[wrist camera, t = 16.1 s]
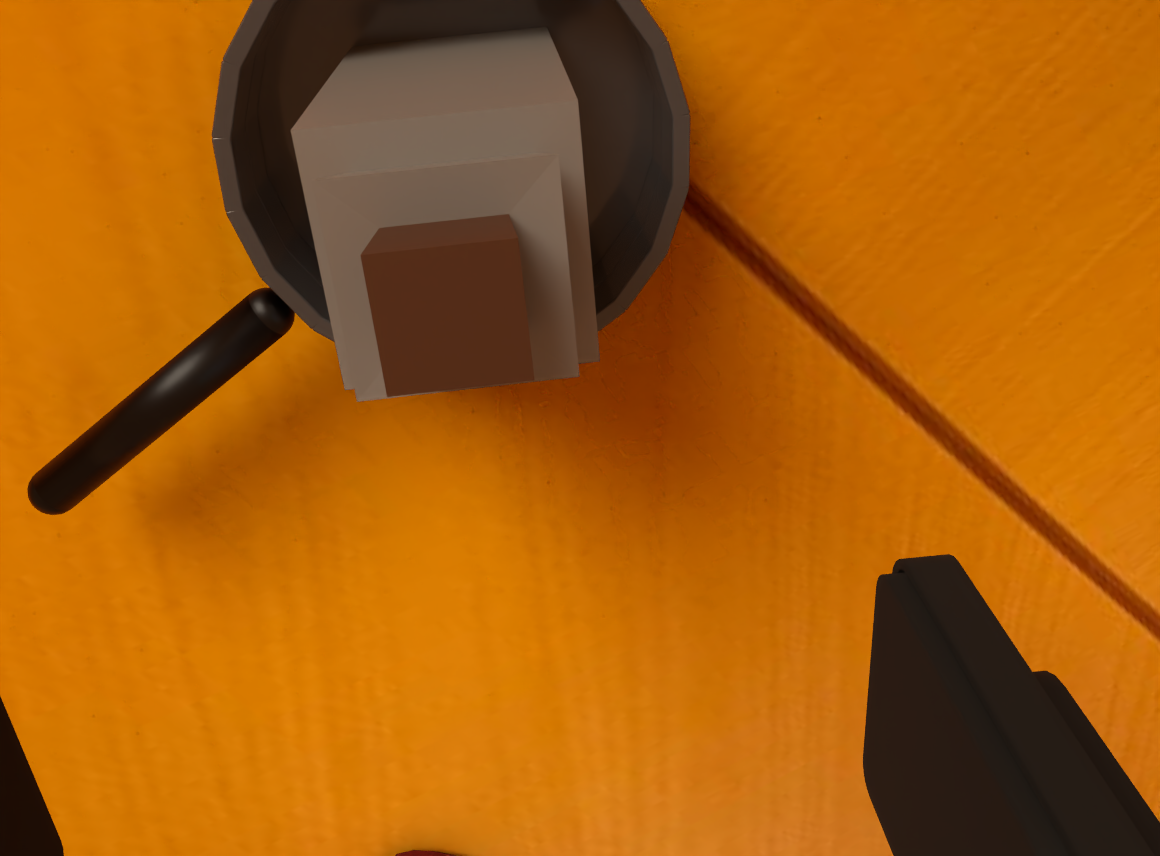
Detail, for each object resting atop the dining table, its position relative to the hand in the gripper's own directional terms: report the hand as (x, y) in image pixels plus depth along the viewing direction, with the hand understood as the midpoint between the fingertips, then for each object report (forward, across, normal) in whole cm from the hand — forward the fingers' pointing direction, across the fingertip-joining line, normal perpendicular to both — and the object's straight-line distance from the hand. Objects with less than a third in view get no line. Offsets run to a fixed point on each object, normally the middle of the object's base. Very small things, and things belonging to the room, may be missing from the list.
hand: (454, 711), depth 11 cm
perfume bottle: (+31, +1, +1) cm, 31 cm away
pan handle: (+28, +13, +9) cm, 32 cm away
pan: (+31, +1, +1) cm, 31 cm away
